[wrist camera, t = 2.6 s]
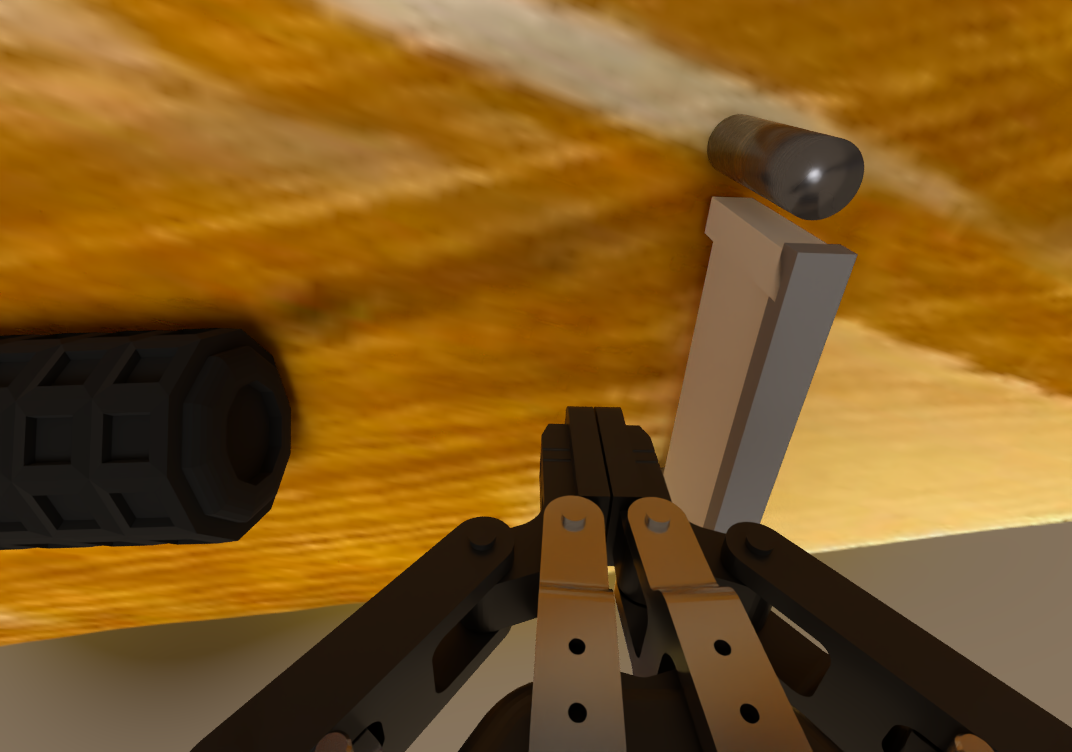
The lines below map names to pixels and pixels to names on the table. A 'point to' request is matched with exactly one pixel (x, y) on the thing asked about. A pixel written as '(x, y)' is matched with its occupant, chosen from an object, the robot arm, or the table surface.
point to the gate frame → (788, 164)
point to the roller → (138, 438)
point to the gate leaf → (750, 359)
